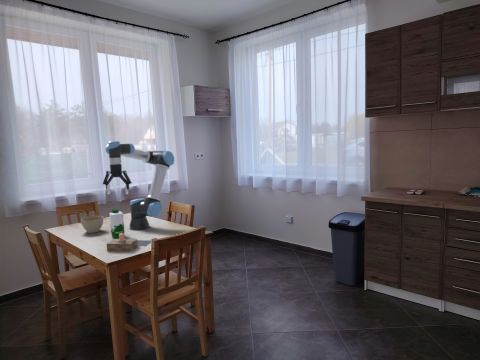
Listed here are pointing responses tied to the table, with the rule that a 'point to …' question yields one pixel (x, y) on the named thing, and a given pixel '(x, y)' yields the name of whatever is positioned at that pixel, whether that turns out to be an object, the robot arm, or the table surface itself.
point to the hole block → (122, 245)
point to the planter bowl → (92, 223)
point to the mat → (143, 242)
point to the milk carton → (116, 223)
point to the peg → (121, 237)
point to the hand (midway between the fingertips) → (118, 194)
